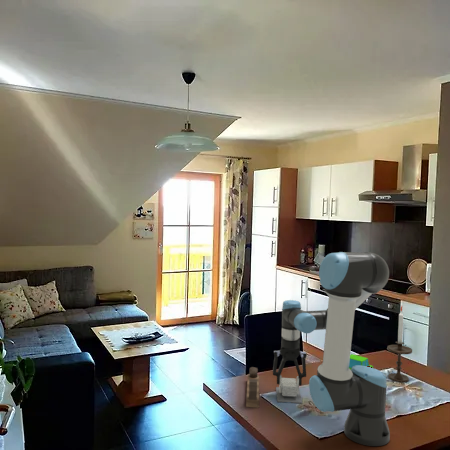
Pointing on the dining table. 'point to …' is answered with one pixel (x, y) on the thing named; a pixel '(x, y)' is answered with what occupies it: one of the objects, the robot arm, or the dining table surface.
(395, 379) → the candlestick
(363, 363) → the toy block
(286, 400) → the grey mat
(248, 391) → the plane body
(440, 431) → the dining table surface
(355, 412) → the robot arm
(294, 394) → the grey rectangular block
